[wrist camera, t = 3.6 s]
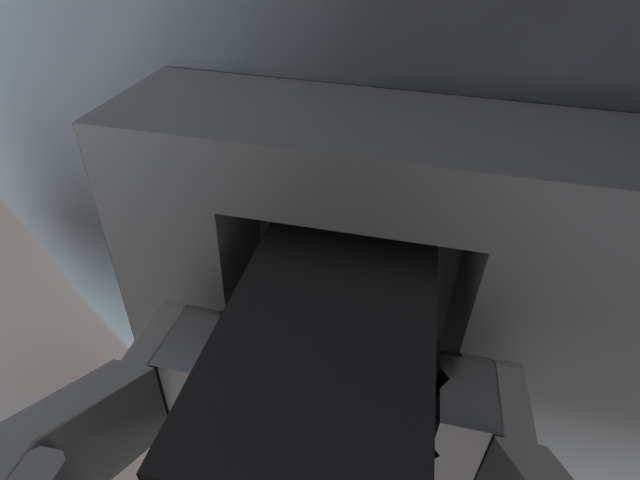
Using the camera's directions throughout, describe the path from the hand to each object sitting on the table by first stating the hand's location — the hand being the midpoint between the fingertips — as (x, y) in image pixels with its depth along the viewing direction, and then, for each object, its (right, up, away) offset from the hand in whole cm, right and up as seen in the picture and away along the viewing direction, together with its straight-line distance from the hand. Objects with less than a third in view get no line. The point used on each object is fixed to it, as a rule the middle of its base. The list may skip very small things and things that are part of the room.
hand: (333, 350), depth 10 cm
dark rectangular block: (+1, +2, +2) cm, 3 cm away
